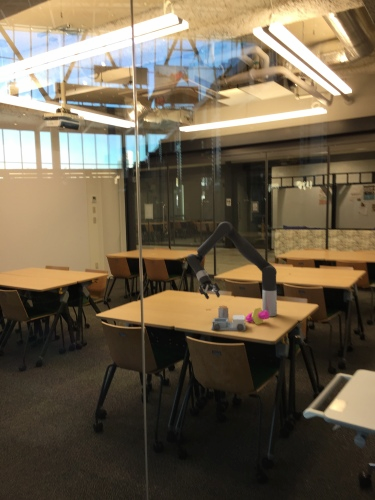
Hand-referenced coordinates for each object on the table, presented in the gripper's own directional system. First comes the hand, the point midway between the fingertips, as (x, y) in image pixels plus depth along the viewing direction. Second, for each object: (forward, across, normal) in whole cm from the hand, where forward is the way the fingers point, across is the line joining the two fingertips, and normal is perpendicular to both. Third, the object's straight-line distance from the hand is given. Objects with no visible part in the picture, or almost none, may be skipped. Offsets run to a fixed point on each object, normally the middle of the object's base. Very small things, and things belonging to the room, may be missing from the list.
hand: (213, 297), depth 270 cm
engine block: (+17, 0, +2) cm, 17 cm away
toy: (+28, +16, -8) cm, 33 cm away
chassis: (+26, -5, -7) cm, 27 cm away
